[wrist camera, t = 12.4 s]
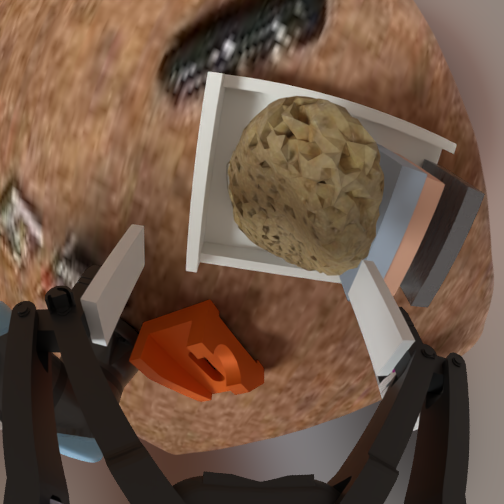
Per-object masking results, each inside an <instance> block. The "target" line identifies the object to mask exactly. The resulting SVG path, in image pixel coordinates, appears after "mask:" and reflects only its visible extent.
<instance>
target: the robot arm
mask: <svg viewBox="0 0 504 504" xmlns="http://www.w3.org/2000/svg"><path fill="white" fill-rule="evenodd" d="M144 266H145V256H144V226H142V225H135V224H132V225H131V226H130V227H129V229H128V230H127V231H126V233H125V234H124V235H123V237H122V238H121V239H120V241H119V242H118V244H117V245H116V246H115V248H114V249H113V251H112V252H111V253H110V255H109V256H108V258H107V259H106V261H105V262H104V264H103V265H102V266H97V265H92V266H90V267H89V268H88V269H86V270H85V271H84V273H83V274H82V276H81V278H79V280H78V281H77V283H76V284H75V286H74V287H73V289H72V290H71V289H70V288H69V287H67V286H56V287H54V288H51V289H50V290H49V291H48V292H47V294H46V295H45V301H46V304H47V307H48V309H46V310H36V307H35V305H34V304H33V303H32V302H30V301H23V302H20V303H18V304H17V305H16V306H15V307H14V308H13V310H11V309H10V308H9V307H8V306H7V305H6V304H5V303H4V302H2V301H0V430H2V432H3V448H4V459H5V467H6V475H7V480H6V487H5V495H4V503H3V504H70V503H69V494H68V489H67V484H66V479H65V475H64V470H63V466H62V461H61V456H60V453H61V454H63V455H66V456H69V457H72V458H75V459H79V460H82V461H86V462H98V461H100V460H101V459H102V457H103V456H104V458H105V461H106V464H107V466H108V468H109V470H110V472H111V474H112V475H113V477H114V479H115V480H116V482H117V484H118V485H119V487H120V488H121V490H122V491H123V493H124V495H125V496H126V498H127V499H128V501H129V502H130V504H383V503H384V502H385V500H386V498H387V496H388V495H389V493H390V491H391V489H392V487H393V485H394V483H395V482H396V480H397V477H398V475H399V471H397V470H396V467H397V465H398V463H399V461H400V459H401V456H402V454H403V452H404V450H405V448H406V445H407V443H408V441H409V438H410V436H411V434H412V431H413V429H414V427H415V424H416V422H417V419H418V416H419V414H420V417H419V426H418V434H417V441H416V447H415V454H414V460H413V465H412V470H411V475H410V480H409V484H408V488H407V492H406V497H405V501H404V504H466V498H465V491H466V483H467V473H468V460H469V398H468V383H467V372H466V364H465V361H464V360H463V358H462V357H461V356H460V355H458V354H457V353H450V354H449V355H448V356H447V358H443V357H439V356H437V355H436V352H435V351H434V349H433V348H431V347H430V346H429V345H426V344H423V343H422V340H421V338H420V336H419V334H418V332H417V330H416V328H415V327H414V325H413V323H412V321H411V319H410V317H409V315H408V313H407V312H406V311H405V310H404V309H403V308H402V307H398V305H397V303H396V302H395V300H394V298H393V296H392V294H391V292H390V290H389V288H388V287H387V285H386V283H385V281H384V279H383V278H382V276H381V274H380V272H379V270H378V269H377V267H376V265H375V263H374V262H373V261H368V260H363V261H362V263H361V265H360V268H359V270H358V272H357V275H356V277H355V279H354V281H353V284H352V286H351V288H350V290H349V292H348V296H349V299H350V302H351V304H352V307H353V310H354V312H355V315H356V318H357V321H358V323H359V326H360V329H361V332H362V335H363V338H364V340H365V343H366V346H367V349H368V352H369V355H370V358H371V361H372V364H373V367H374V370H375V374H376V376H388V375H389V374H390V373H391V372H392V370H393V369H394V370H395V372H396V375H395V376H394V377H393V378H392V380H391V381H390V382H389V383H388V384H387V385H386V387H388V386H389V387H388V389H387V391H386V393H385V395H384V397H383V399H382V401H381V403H380V404H379V406H378V408H377V410H376V412H375V413H374V415H373V417H372V419H371V421H370V423H369V424H368V426H367V428H366V429H365V431H364V433H363V434H362V436H361V438H360V439H359V441H358V443H357V444H356V446H355V447H354V449H353V451H352V452H351V453H350V455H349V456H348V458H347V459H346V461H345V462H344V464H343V465H342V467H341V468H340V470H339V471H338V472H337V474H336V475H335V476H334V477H333V478H332V479H331V480H330V481H329V482H328V483H327V484H326V483H324V482H321V481H318V480H314V474H311V475H290V476H285V477H281V478H277V479H272V480H268V481H263V482H258V481H255V480H251V479H247V478H243V477H239V476H236V475H233V474H223V473H213V472H204V474H203V476H197V477H192V478H189V479H185V480H183V481H181V482H178V483H177V484H175V485H173V486H172V485H171V484H170V482H169V481H168V480H167V479H166V477H165V476H164V475H163V473H162V472H161V470H160V469H159V467H158V466H157V464H156V463H155V462H154V460H153V459H152V457H151V456H150V454H149V453H148V451H147V450H146V448H145V447H144V446H143V445H142V443H141V442H140V440H139V439H138V437H137V435H136V434H135V432H134V430H133V429H132V427H131V425H130V423H129V422H128V420H127V418H126V416H125V415H124V413H123V411H122V409H121V407H120V406H119V402H120V398H121V395H122V392H123V389H124V387H125V386H126V385H127V384H128V382H129V381H130V380H131V379H132V378H133V376H134V375H135V374H136V373H137V372H138V369H137V368H136V367H135V366H134V365H133V364H132V363H131V362H130V361H129V359H130V357H131V354H132V351H133V348H134V346H135V343H136V340H137V338H138V334H137V333H136V331H135V330H134V329H133V328H131V327H130V326H129V325H128V324H127V323H125V322H124V321H122V320H121V319H119V318H120V315H121V313H122V311H123V309H124V307H125V305H126V303H127V300H128V298H129V296H130V294H131V292H132V290H133V288H134V286H135V284H136V282H137V280H138V278H139V276H140V274H141V272H142V270H143V268H144ZM52 352H60V353H61V357H60V359H59V358H58V357H57V356H56V355H54V354H53V353H52Z"/></svg>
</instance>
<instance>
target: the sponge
mask: <svg viewBox="0 0 504 504" xmlns="http://www.w3.org/2000/svg"><path fill="white" fill-rule="evenodd" d="M380 157H381V156H380V153H379V149H378V146H377V143H376V141H375V140H374V139H373V138H372V137H371V135H370V134H369V133H368V132H367V131H366V129H365V128H364V127H363V126H362V124H361V123H360V121H359V120H358V119H357V118H354V117H352V116H351V115H350V114H349V112H348V111H347V110H346V108H345V107H342V106H340V105H337V104H334V103H332V102H330V101H329V100H325V99H320V98H318V99H316V98H312V97H306V96H293V97H285V98H280V99H277V100H275V101H273V102H272V103H270V104H268V106H267V107H266V108H265V109H263V110H262V111H261V112H260V113H258V114H257V115H256V116H255V117H254V118H253V119H252V120H251V121H250V122H249V124H248V125H247V126H246V127H245V128H244V129H243V132H242V135H241V138H240V140H239V143H238V144H237V146H236V149H235V151H233V153H232V156H231V159H230V161H229V162H228V163H227V165H226V179H227V189H228V193H229V197H230V199H231V203H232V207H233V217H234V221H235V223H236V224H237V225H238V228H239V229H240V230H241V231H242V232H243V233H244V234H245V235H246V236H247V238H248V239H249V240H250V241H252V242H253V243H254V244H256V245H257V246H259V247H261V248H263V249H264V250H266V251H268V252H270V253H272V254H274V255H275V256H277V257H281V258H283V259H284V260H285V261H286V262H288V263H290V264H294V265H297V266H298V267H301V268H303V269H305V270H307V271H314V270H317V271H318V272H319V273H325V274H326V275H327V276H337V275H342V274H343V273H344V272H346V271H347V270H349V269H354V268H357V267H358V265H359V264H360V262H361V260H363V259H365V258H366V257H367V256H368V253H369V250H370V247H371V243H372V242H373V240H374V238H375V237H376V222H377V220H378V218H379V216H380V214H379V206H380V204H381V201H382V197H383V190H384V174H383V171H382V169H381V167H380V164H379V163H380Z"/></svg>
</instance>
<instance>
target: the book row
mask: <svg viewBox="0 0 504 504" xmlns="http://www.w3.org/2000/svg"><path fill="white" fill-rule="evenodd" d="M377 146H378V149H379V153H380V156H381V157H380V163H379V164H380V167H381V169H382V171H383V174H384V190H383V197H382V201H381V204H380V206H379V214H380V216H379V218H378V220H377V222H376V237H375V238H374V240H373V242H372V243H371V247H370V250H369V253H368V256H367V257H366V258H365V259H363V260H368V261H373V262H374V263H375V265H376V267H377V269H378V270H379V272H380V274H381V276H382V278H383V279H384V281H385V283H386V285H387V287H388V288H389V290H390V292H391V294H392V296H393V297H394V295H395V293H396V291H397V290H398V288H399V286H400V284H401V282H402V280H403V278H404V276H405V274H406V273H407V271H408V269H409V267H410V265H411V263H412V261H413V259H414V256H415V254H416V252H417V250H418V248H419V246H420V244H421V242H422V239H423V237H424V235H425V233H426V231H427V228H428V226H429V224H430V221H431V219H432V217H433V214H434V212H435V209H436V207H437V204H438V202H439V199H440V197H441V194H442V192H443V189H444V186H445V184H444V183H443V182H441V181H440V180H438V179H437V178H436V177H434V176H433V175H431V174H430V173H428V172H427V171H425V170H424V169H422V168H421V167H419V166H417V165H416V164H414V163H413V162H411V161H410V160H408V159H406V158H405V157H403V156H401V155H400V154H397V153H394V152H392V151H390V150H388V149H387V148H385V147H383V146H382V145H379V144H377ZM363 260H361V262H360V264H359V265H358V267H357V268H354V269H349V270H347V271H346V272H344V273H343V274H342V275H339V277H340V280H341V283H342V286H343V289H344V292H345V294H346V297H347V300H348V301H350V299H349V296H348V292H349V290H350V288H351V286H352V284H353V281H354V279H355V277H356V275H357V272H358V270H359V268H360V265H361V263H362V261H363Z"/></svg>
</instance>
